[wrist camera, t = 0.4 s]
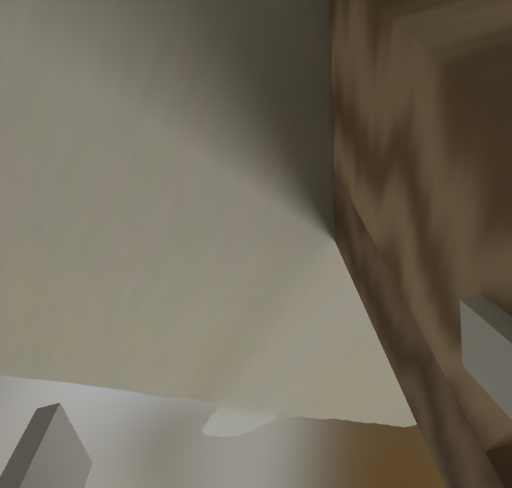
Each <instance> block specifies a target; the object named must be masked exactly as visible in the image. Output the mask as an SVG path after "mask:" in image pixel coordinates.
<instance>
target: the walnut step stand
mask: <svg viewBox="0 0 512 488" xmlns="http://www.w3.org/2000/svg"><path fill="white" fill-rule="evenodd" d="M331 47H332V103H333V159H334V215H335V242H336V245H337V247H338V249H339V251H340V254H341V256H342V258H343V260H344V262H345V265H346V267H347V269H348V271H349V273H350V276H351V278H352V280H353V282H354V285H355V287H356V289H357V291H358V293H359V296H360V298H361V300H362V302H363V305H364V307H365V309H366V311H367V313H368V316H369V318H370V320H371V322H372V325H373V327H374V329H375V331H376V333H377V336H378V338H379V340H380V342H381V345H382V347H383V349H384V351H385V353H386V356H387V358H388V360H389V362H390V365H391V367H392V369H393V371H394V373H395V376H396V378H397V380H398V382H399V385H400V387H401V389H402V391H403V393H404V396H405V398H406V400H407V402H408V405H409V407H410V409H411V411H412V413H413V416H414V418H415V420H416V422H417V425H418V427H419V429H420V431H421V433H422V436H423V438H424V440H425V442H426V444H427V447H428V449H429V451H430V453H431V456H432V458H433V460H434V462H435V465H436V467H437V469H438V471H439V473H440V475H441V478H442V480H443V482H444V485H445V487H446V488H512V420H511V419H510V418H509V416H508V415H507V414H506V413H505V412H504V411H503V410H502V409H501V408H500V406H499V405H498V404H497V403H496V402H495V401H494V400H493V399H492V398H491V396H490V395H489V394H488V393H487V392H486V391H485V390H484V389H483V388H482V387H481V385H480V384H479V383H478V382H477V381H476V380H475V379H474V378H473V377H472V375H471V374H470V373H469V372H468V371H467V370H466V369H465V368H464V367H463V361H462V339H461V316H460V299H462V298H466V297H470V296H474V295H478V294H483V295H485V296H486V297H487V298H488V299H490V300H491V301H492V302H494V303H495V304H496V305H498V306H499V307H500V308H502V309H503V310H504V311H505V312H507V313H508V314H509V315H511V316H512V0H331Z"/></svg>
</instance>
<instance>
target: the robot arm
mask: <svg viewBox="0 0 512 488" xmlns="http://www.w3.org/2000/svg"><path fill="white" fill-rule="evenodd" d="M460 316H461V339H462V361H463V367H464V368H465V369H466V370H467V371H468V372H469V373H470V374H471V375H472V377H473V378H474V379H475V380H476V381H477V382H478V383H479V384H480V385H481V387H482V388H483V389H484V390H485V391H486V392H487V393H488V394H489V395H490V396H491V398H492V399H493V400H494V401H495V402H496V403H497V404H498V405H499V406H500V408H501V409H502V410H503V411H504V412H505V413H506V414H507V415H508V416H509V418H510V419H511V420H512V316H511V315H509V314H508V313H507V312H505V311H504V310H503V309H502V308H500V307H499V306H498V305H496V304H495V303H494V302H492V301H491V300H490V299H488V298H487V297H486V296H485V295H483V294H478V295H474V296H470V297H466V298H462V299H460ZM91 465H92V461H91V459H90V457H89V455H88V453H87V452H86V450H85V448H84V446H83V444H82V442H81V441H80V439H79V437H78V435H77V433H76V431H75V430H74V428H73V426H72V424H71V422H70V421H69V419H68V417H67V415H66V413H65V411H64V410H63V408H62V406H61V404H60V403H57V404H54V405H50V406H46V407H42V408H38V409H36V411H35V413H34V415H33V417H32V419H31V421H30V423H29V424H28V426H27V428H26V430H25V432H24V434H23V435H22V437H21V439H20V441H19V443H18V445H17V447H16V448H15V450H14V452H13V454H12V456H11V458H10V459H9V461H8V463H7V465H6V467H5V469H4V471H3V473H2V475H1V476H0V488H84V487H85V483H86V480H87V477H88V474H89V471H90V467H91Z"/></svg>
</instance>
